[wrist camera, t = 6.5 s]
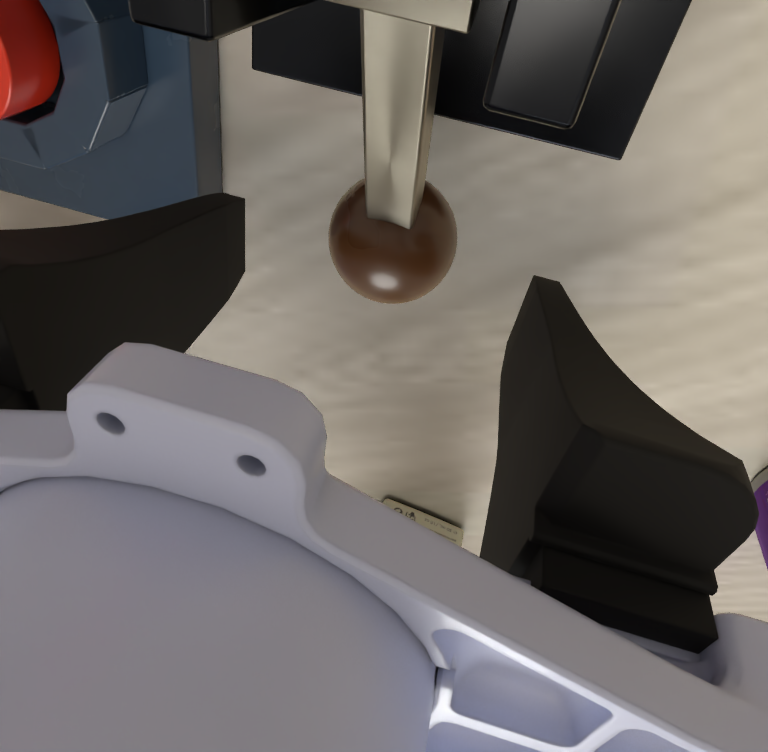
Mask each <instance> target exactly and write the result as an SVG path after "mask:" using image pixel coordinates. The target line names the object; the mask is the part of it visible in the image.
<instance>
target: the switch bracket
mask: <svg viewBox="0 0 768 752" xmlns="http://www.w3.org/2000/svg"><path fill="white" fill-rule="evenodd" d="M691 1H692V0H480V3H479V6H478V9H477V12H476V15H475V18H474V21H473V25H472V28H471V30H470V31H469V33H466V34H465V33H461V32H456V31H452V30H448V29H445V35H444V42H443V50H442V57H441V65H440V72H439V80H438V87H437V95H436V102H435V110H434V115H438V116H442V117H446V118H450V119H454V120H458V121H462V122H466V123H470V124H474V125H478V126H482V127H486V128H490V129H494V130H498V131H502V132H506V133H510V134H514V135H518V136H522V137H526V138H530V139H535V140H539V141H543V142H547V143H551V144H555V145H559V146H563V147H567V148H571V149H575V150H579V151H583V152H587V153H591V154H595V155H599V156H603V157H607V158H611V159H615V160H620V159H621V158H622V156H623V154H624V152H625V150H626V147H627V145H628V143H629V141H630V138H631V136H632V134H633V132H634V129H635V127H636V125H637V123H638V120H639V118H640V116H641V114H642V111H643V109H644V107H645V105H646V102H647V100H648V98H649V96H650V93H651V91H652V89H653V87H654V84H655V82H656V80H657V78H658V75H659V73H660V71H661V69H662V66H663V64H664V62H665V60H666V57H667V55H668V53H669V51H670V48H671V46H672V44H673V42H674V39H675V37H676V35H677V33H678V30H679V28H680V26H681V24H682V21H683V19H684V17H685V15H686V12H687V10H688V8H689V6H690V3H691ZM128 4H129V12H130V17H131V19H132V21H133V22H135V23H137V24H139V25H142V26H146V27H150V28H154V29H158V30H163V31H167V32H171V33H175V34H179V35H183V36H187V37H191V38H195V39H199V40H203V41H207V42H210V41H214V40H217V39H219V38H222V37H224V36H227V35H230V34H232V33H235V32H237V31H240V30H242V29H245V28H248V27H250V26H252V68H253V69H254V70H257V71H261V72H265V73H269V74H273V75H277V76H281V77H285V78H289V79H293V80H297V81H301V82H305V83H309V84H313V85H317V86H321V87H325V88H329V89H333V90H337V91H341V92H345V93H349V94H353V95H357V96H362V65H361V31H360V9H359V8H355V7H351V6H347V5H342V4H338V3H334V2H330V1H326V0H128Z"/></svg>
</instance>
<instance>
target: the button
mask: <svg viewBox="0 0 768 752" xmlns="http://www.w3.org/2000/svg"><path fill="white" fill-rule="evenodd" d="M59 75H60V55H59V48H58V43H57V39H56V36H55V33H54V30H53V27H52V24H51V22H50V20H49V18H48V15H47V13H46V11H45V10H44V8H43V6H42V5H41V3H40V1H39V0H0V120H2V119H5V118H7V117H10V116H13V115H15V114H18V113H21V112H23V111H26V110H28V109H31V108H34V107H36V106H39V105H41V104H43V103H44V102H46V101H47V100H48V99H49V98H50V97H51V95H52V94H53V92H54V91H55V88H56V86H57V84H58V79H59Z"/></svg>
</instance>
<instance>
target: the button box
mask: <svg viewBox="0 0 768 752" xmlns="http://www.w3.org/2000/svg"><path fill="white" fill-rule="evenodd" d="M39 1H40V3H41V5H42V6H43V8H44V10H45V11H46V13H47V15H48V18H49V20H50V22H51V24H52V27H53V30H54V33H55V36H56V39H57V43H58V48H59V55H60V75H59V79H58V84H57V86H56V88H55V91H54V92H53V94H52V95H51V97H50V98H49V99H48V100H47V101H46V102H44V103H43V104H41V105H39V106H36V107H34V108H31V109H28V110H26V111H23V112H21V113H18V114H15V115H13V116H10V117H7V118H5V119H2V120H0V190H2V191H6V192H10V193H13V194H17V195H21V196H24V197H28V198H32V199H35V200H39V201H43V202H46V203H50V204H54V205H57V206H61V207H64V208H68V209H72V210H75V211H79V212H83V213H86V214H90V215H94V216H97V217H101V218H105V219H108V220H110V219H115V218H119V217H123V216H128V215H132V214H136V213H140V212H144V211H149V210H153V209H156V208H160V207H164V206H167V205H171V204H174V203H178V202H181V201H185V200H189V199H192V198H196V197H200V196H204V195H208V194H213V193H221V192H222V166H221V136H220V105H219V75H218V45H217V40H214V41H210V42H207V41H203V40H199V39H195V38H191V37H187V36H183V35H179V34H175V33H171V32H167V31H163V30H158V29H154V28H150V27H146V26H142V25H139V24H137V23H135V22H133V21H132V19H131V17H130V12H129V4H128V0H39Z"/></svg>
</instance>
